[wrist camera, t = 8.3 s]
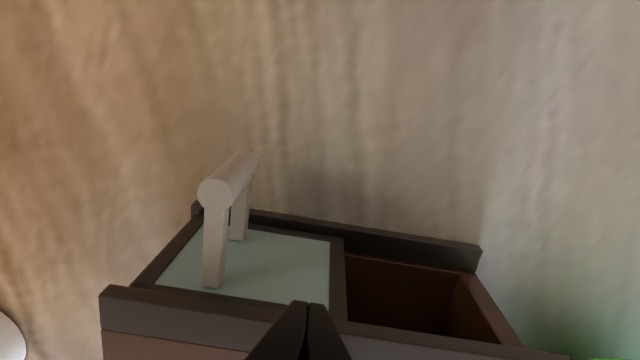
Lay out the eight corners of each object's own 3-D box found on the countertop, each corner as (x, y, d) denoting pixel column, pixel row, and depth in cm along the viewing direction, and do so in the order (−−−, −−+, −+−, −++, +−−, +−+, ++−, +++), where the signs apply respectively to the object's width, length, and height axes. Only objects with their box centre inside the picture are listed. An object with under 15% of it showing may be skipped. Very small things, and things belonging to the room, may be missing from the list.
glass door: (341, 247, 20) (345, 337, 13) (194, 224, 20) (125, 303, 13) (359, 159, 18) (374, 213, 12) (197, 132, 18) (119, 171, 11)
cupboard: (433, 369, 24) (487, 533, 16) (191, 332, 24) (112, 478, 15) (479, 245, 21) (580, 370, 12) (195, 199, 20) (97, 295, 12)
